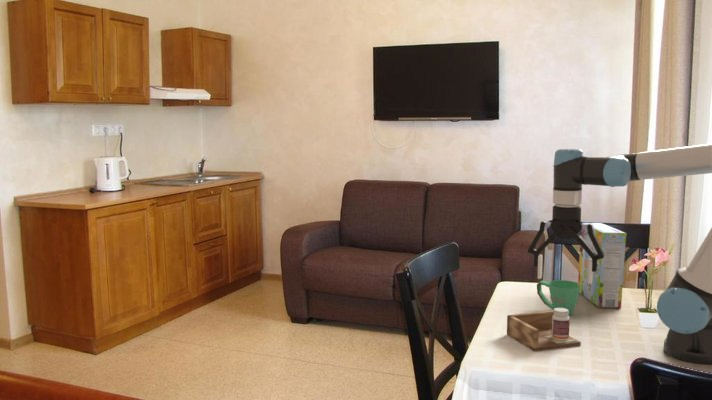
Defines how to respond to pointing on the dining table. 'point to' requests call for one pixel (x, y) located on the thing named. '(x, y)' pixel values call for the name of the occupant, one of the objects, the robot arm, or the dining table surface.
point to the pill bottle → (560, 324)
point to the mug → (560, 294)
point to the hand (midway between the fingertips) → (564, 280)
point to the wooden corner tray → (536, 331)
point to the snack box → (603, 267)
